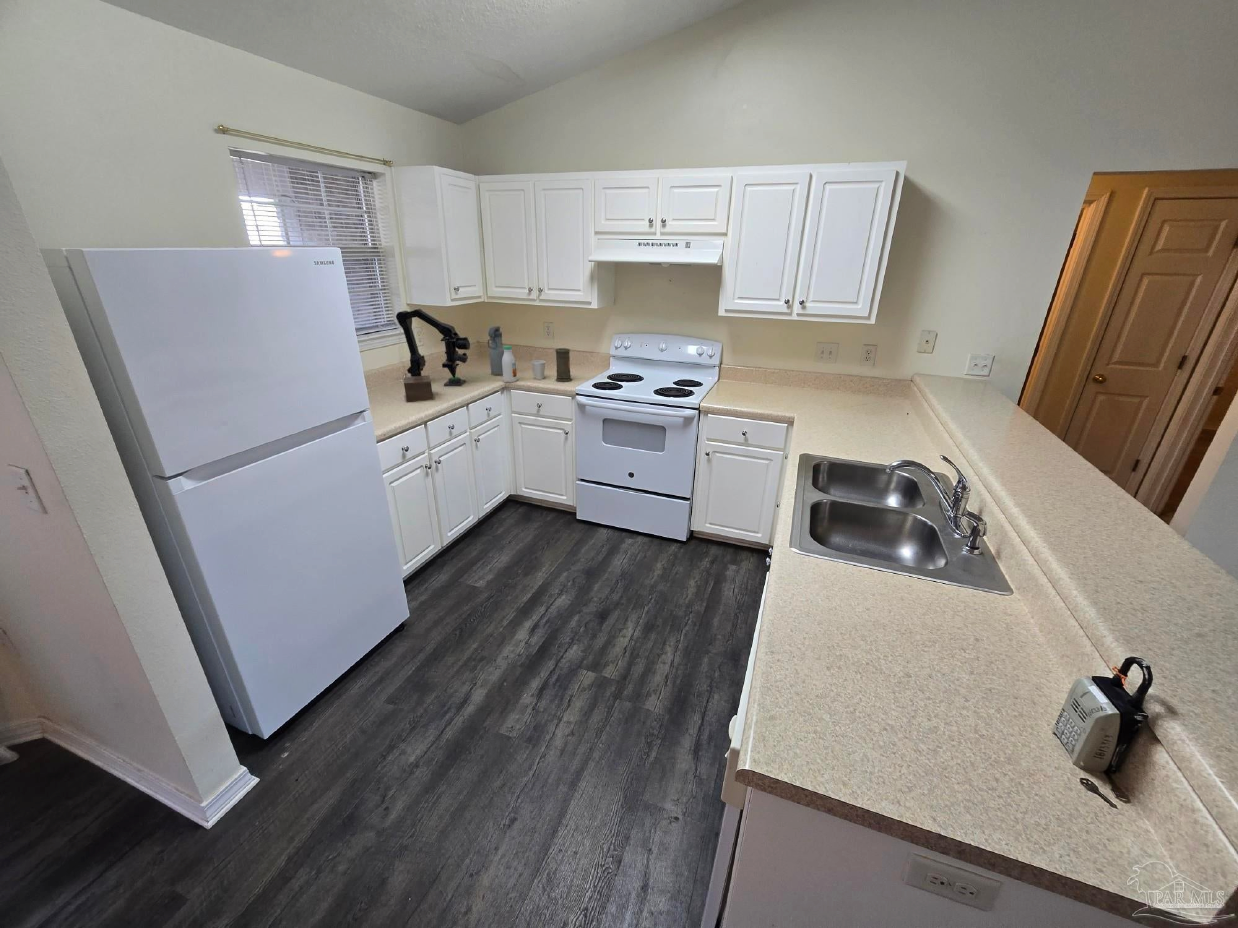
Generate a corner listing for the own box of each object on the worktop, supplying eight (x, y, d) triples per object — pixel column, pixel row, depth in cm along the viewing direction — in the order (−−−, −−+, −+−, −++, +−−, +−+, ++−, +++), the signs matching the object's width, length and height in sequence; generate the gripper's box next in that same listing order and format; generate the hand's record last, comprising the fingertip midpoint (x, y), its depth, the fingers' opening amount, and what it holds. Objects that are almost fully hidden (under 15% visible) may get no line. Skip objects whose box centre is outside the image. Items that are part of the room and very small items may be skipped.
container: (559, 382, 293) (558, 351, 286) (553, 379, 300) (552, 348, 293) (573, 381, 297) (572, 350, 290) (568, 377, 304) (566, 347, 297)
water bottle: (501, 376, 307) (497, 328, 296) (487, 374, 310) (483, 327, 299) (510, 372, 316) (507, 326, 305) (497, 371, 319) (493, 325, 308)
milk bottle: (509, 383, 291) (506, 348, 284) (500, 381, 296) (497, 346, 288) (519, 380, 297) (517, 346, 289) (510, 378, 301) (508, 344, 294)
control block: (449, 381, 295) (449, 376, 293) (465, 381, 295) (464, 376, 294) (444, 386, 284) (443, 380, 283) (460, 386, 285) (459, 381, 283)
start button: (452, 379, 290) (452, 376, 290) (458, 379, 290) (458, 376, 290) (450, 381, 287) (450, 377, 286) (456, 381, 287) (456, 378, 286)
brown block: (406, 395, 266) (403, 377, 263) (431, 393, 271) (429, 375, 267) (406, 402, 255) (403, 383, 251) (433, 399, 259) (430, 381, 255)
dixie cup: (549, 378, 304) (548, 361, 300) (538, 380, 298) (537, 363, 294) (539, 375, 309) (539, 359, 305) (529, 378, 303) (528, 361, 299)
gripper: (460, 352, 274) (464, 381, 280) (469, 346, 291) (472, 373, 297) (440, 352, 273) (443, 381, 279) (450, 346, 291) (453, 373, 297)
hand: (454, 377), depth 288 cm, fingers closed, pressing on start button
